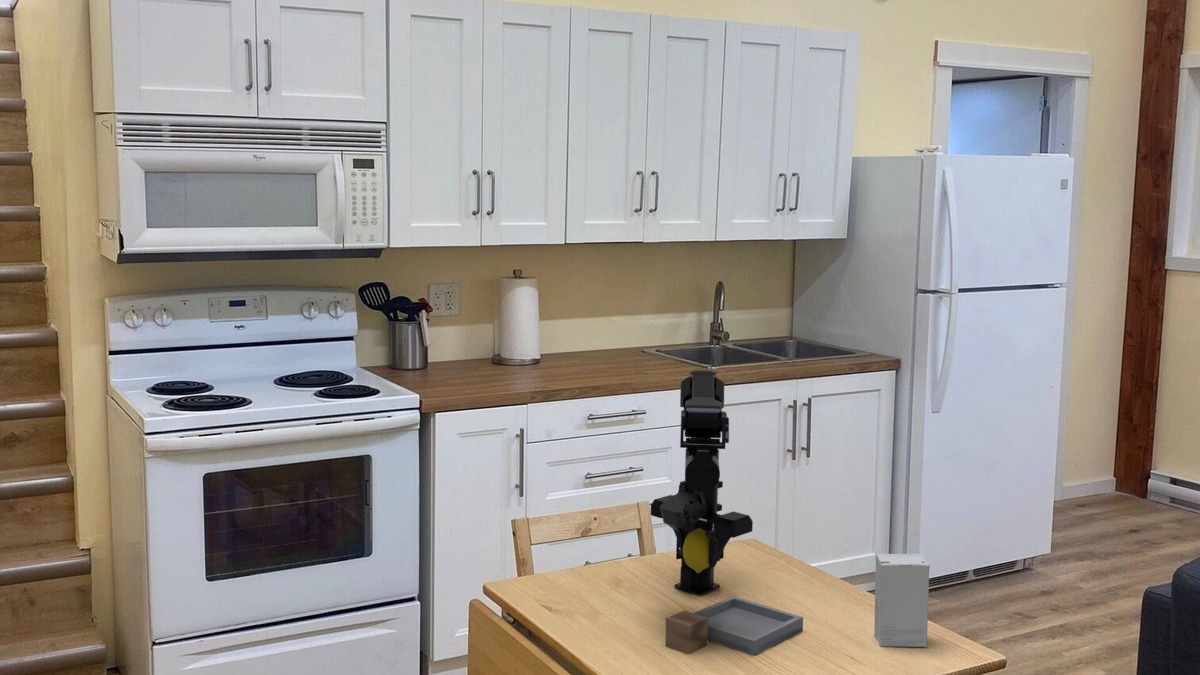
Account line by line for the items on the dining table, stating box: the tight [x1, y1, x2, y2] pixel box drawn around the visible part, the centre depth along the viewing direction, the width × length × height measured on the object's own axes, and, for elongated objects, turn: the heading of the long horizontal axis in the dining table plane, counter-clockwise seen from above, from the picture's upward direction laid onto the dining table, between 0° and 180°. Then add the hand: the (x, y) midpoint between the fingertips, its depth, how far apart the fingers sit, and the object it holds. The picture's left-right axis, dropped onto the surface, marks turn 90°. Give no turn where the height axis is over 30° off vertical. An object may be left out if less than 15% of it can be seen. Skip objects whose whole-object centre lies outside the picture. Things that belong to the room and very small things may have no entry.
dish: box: [693, 595, 804, 656], centre depth 206 cm, size 15×15×2 cm
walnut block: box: [665, 610, 708, 655], centre depth 199 cm, size 5×5×5 cm
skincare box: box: [873, 553, 931, 648], centre depth 202 cm, size 8×6×15 cm
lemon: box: [683, 528, 709, 573], centre depth 206 cm, size 6×6×8 cm
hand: (699, 563), depth 206 cm, fingers closed on lemon, 5 cm apart
